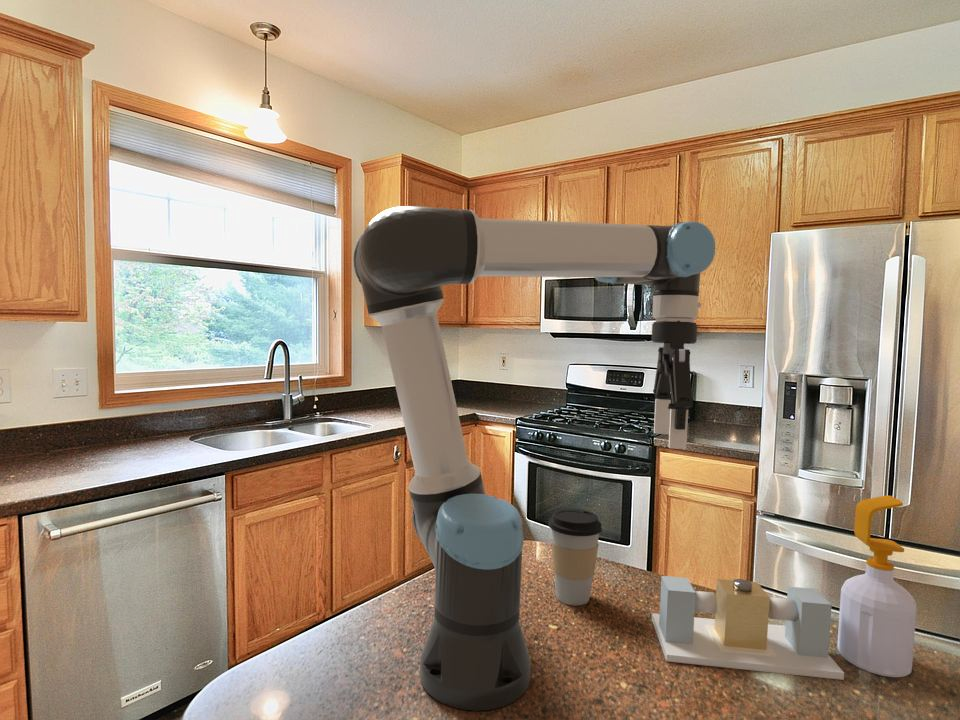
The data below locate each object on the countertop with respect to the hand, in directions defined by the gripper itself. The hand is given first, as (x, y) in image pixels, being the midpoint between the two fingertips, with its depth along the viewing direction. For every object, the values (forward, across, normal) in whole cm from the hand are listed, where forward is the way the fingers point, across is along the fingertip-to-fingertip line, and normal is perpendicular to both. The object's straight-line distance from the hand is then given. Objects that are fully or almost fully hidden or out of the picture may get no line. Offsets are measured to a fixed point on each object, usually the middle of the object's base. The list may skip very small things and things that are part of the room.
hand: (668, 440), depth 98 cm
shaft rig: (+29, -14, -9) cm, 33 cm away
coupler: (+28, -14, -9) cm, 32 cm away
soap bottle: (+29, -14, -28) cm, 43 cm away
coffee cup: (+29, -3, +16) cm, 33 cm away
